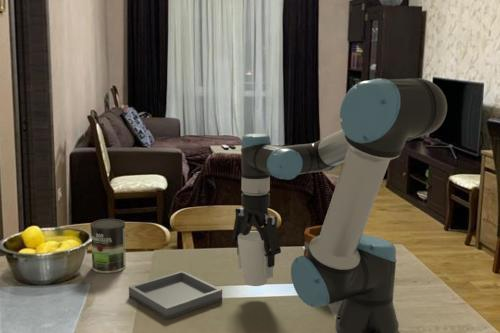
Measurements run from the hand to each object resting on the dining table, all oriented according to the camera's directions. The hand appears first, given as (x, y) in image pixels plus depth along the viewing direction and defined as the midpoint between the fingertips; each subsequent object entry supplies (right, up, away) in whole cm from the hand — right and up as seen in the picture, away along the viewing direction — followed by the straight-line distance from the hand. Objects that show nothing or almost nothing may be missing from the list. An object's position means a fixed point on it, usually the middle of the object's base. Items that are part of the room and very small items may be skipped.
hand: (255, 272), depth 162 cm
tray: (-22, -7, 0) cm, 23 cm away
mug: (+24, -5, +14) cm, 28 cm away
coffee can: (-45, -2, +22) cm, 50 cm away
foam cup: (0, -3, 0) cm, 3 cm away
